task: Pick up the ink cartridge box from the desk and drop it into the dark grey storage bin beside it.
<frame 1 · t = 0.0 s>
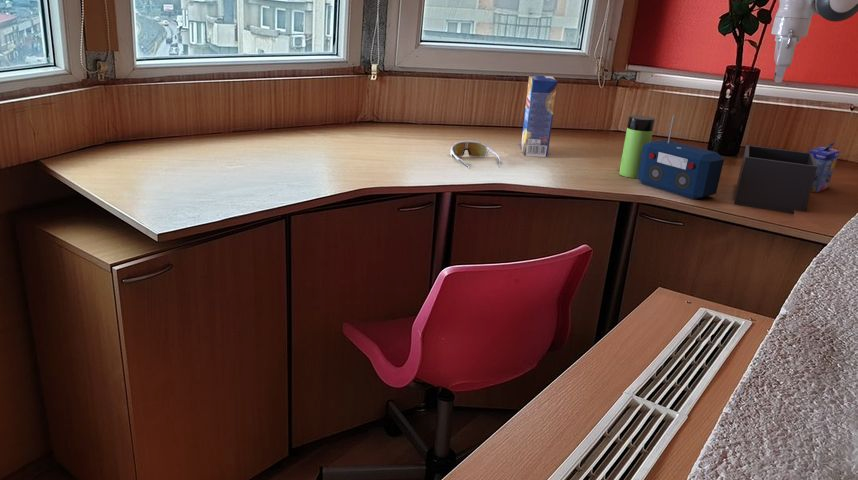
hand: (777, 80, 201), 30 cm above the table, tool pointing down, fingers open, 8 cm apart
ink cartridge box: (812, 191, 208), on the table
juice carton: (533, 152, 237), on the table
tumbler: (631, 175, 215), on the table
radio: (673, 190, 202), on the table
sunglasses: (474, 162, 220), on the table
dark grey storage bin: (768, 201, 196), on the table
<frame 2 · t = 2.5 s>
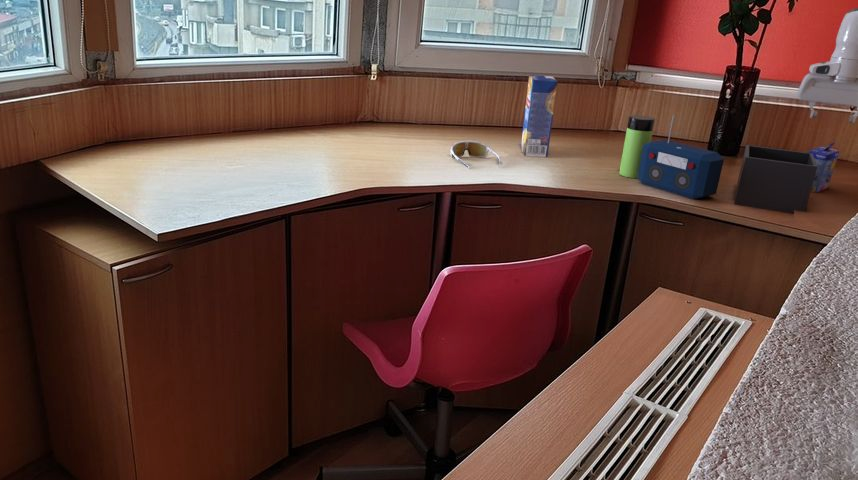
hand: (831, 120, 200), 21 cm above the table, tool pointing down, fingers open, 8 cm apart
nothing on the table moved.
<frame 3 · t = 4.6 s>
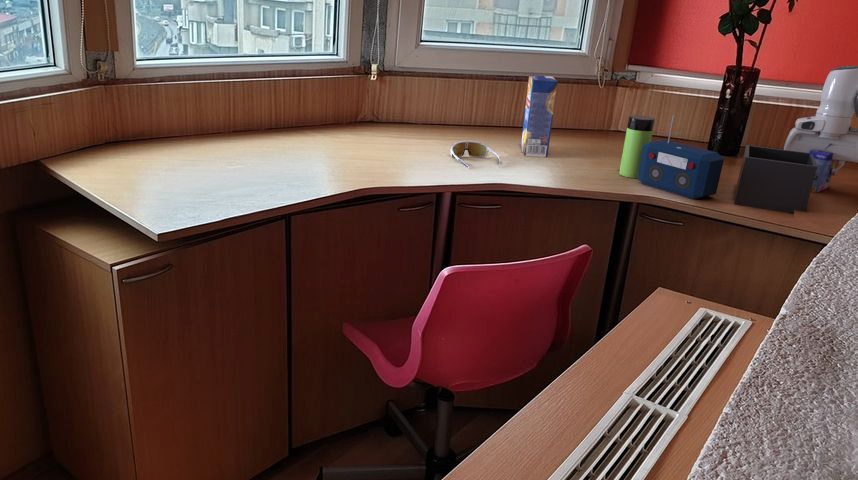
hand: (817, 173, 206), 5 cm above the table, tool pointing down, fingers closed on ink cartridge box, 6 cm apart
ink cartridge box: (812, 191, 208), on the table, touching gripper
everything else where it was.
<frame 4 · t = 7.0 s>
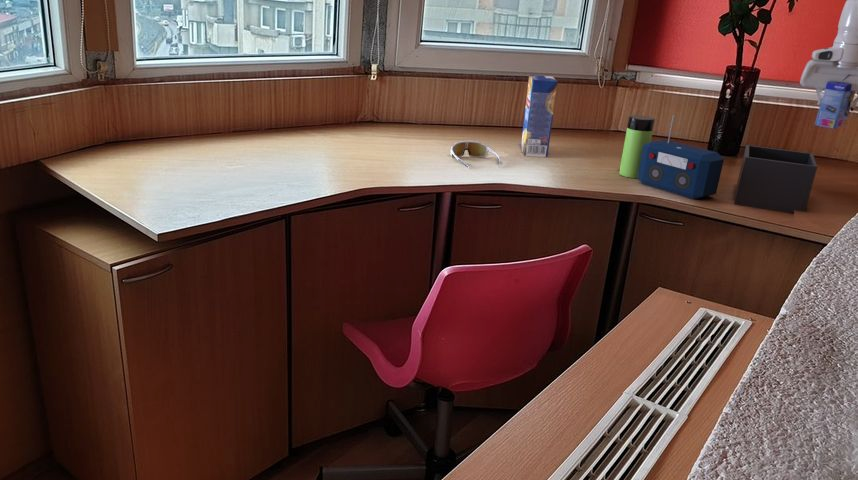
hand: (835, 106, 198), 24 cm above the table, tool pointing down, fingers closed on ink cartridge box, 6 cm apart
ink cartridge box: (830, 126, 201), point 19 cm above the table, touching gripper
everything else where it was.
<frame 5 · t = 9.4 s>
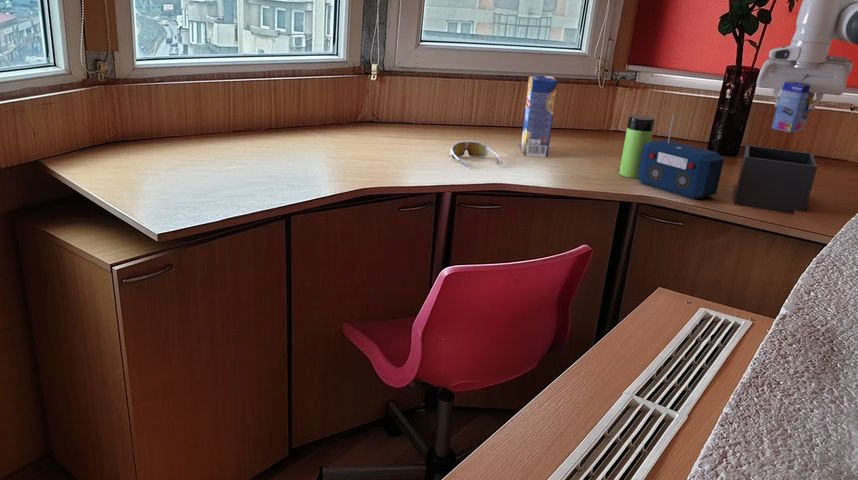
hand: (793, 108, 187), 25 cm above the table, tool pointing down, fingers closed on ink cartridge box, 6 cm apart
ink cartridge box: (788, 130, 189), point 19 cm above the table, touching gripper
everything else where it was.
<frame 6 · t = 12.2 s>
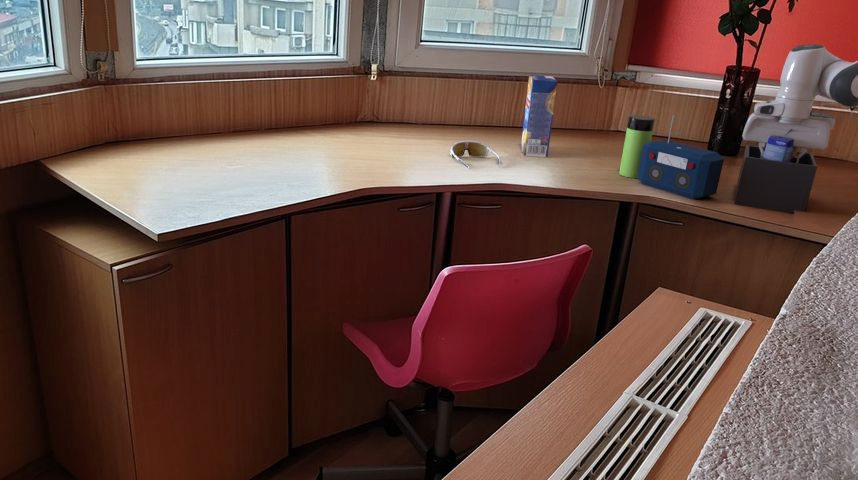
hand: (778, 161, 192), 11 cm above the table, tool pointing down, fingers closed on ink cartridge box, 6 cm apart
ink cartridge box: (773, 181, 194), point 6 cm above the table, touching gripper
everything else where it was.
when the fingers open (6 cm above the table, at t = 14.3 s): ink cartridge box stays where it is, resting on dark grey storage bin.
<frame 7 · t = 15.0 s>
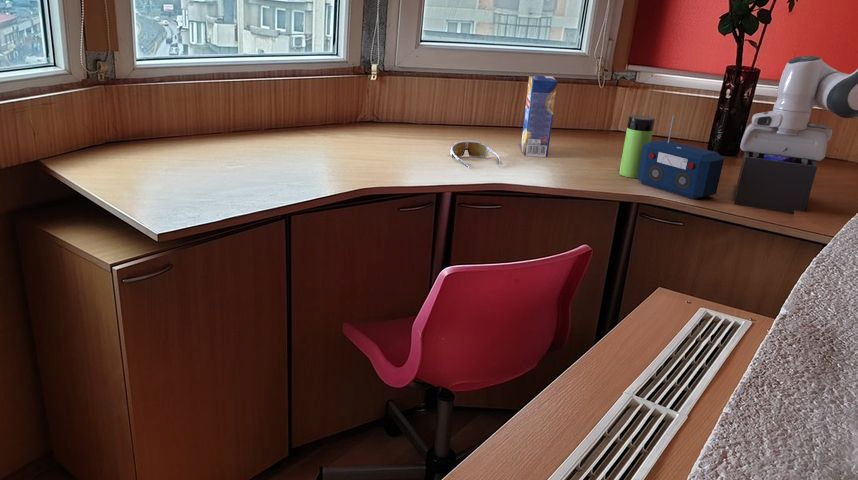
hand: (776, 171, 193), 8 cm above the table, tool pointing down, fingers open, 8 cm apart
ink cartridge box: (768, 198, 196), point 1 cm above the table, touching dark grey storage bin
everything else where it was.
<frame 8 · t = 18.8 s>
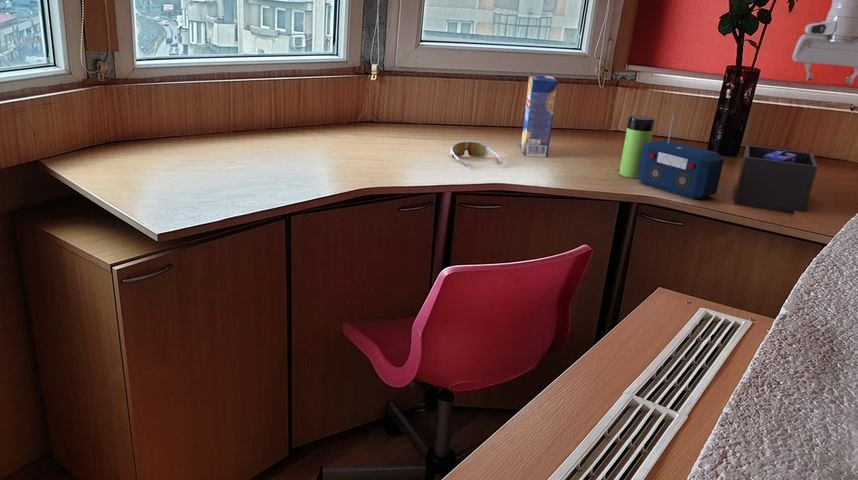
hand: (828, 82, 194), 31 cm above the table, tool pointing down, fingers open, 8 cm apart
nothing on the table moved.
at the end: ink cartridge box inside the target area in the dark grey storage bin (0.1 cm from its centre), point 0.6 cm above the dark grey storage bin's base; the gripper is holding nothing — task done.
